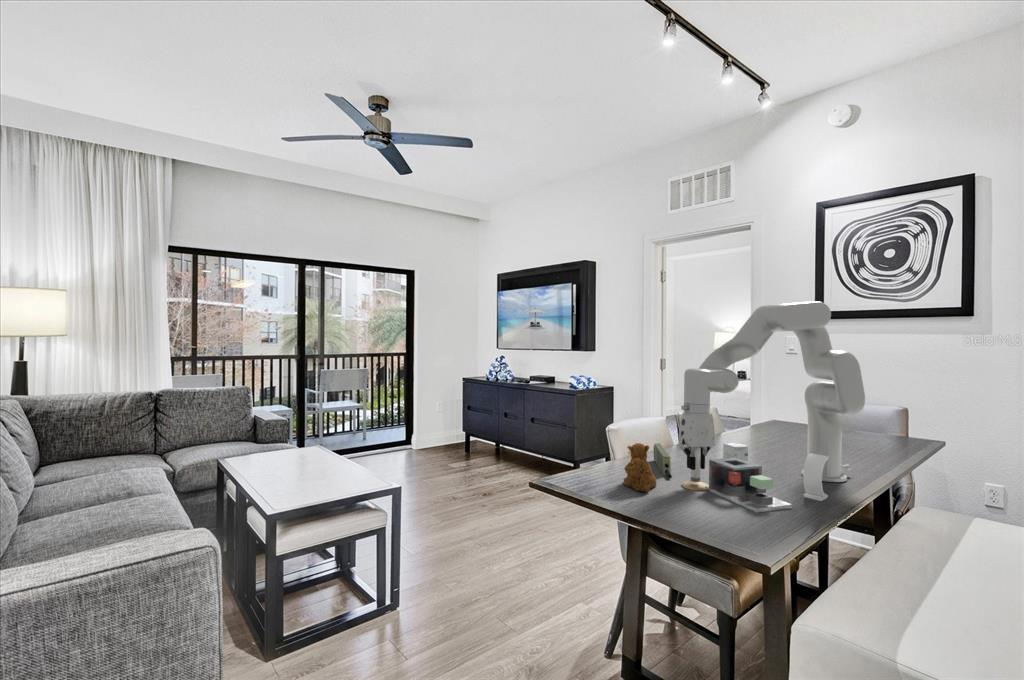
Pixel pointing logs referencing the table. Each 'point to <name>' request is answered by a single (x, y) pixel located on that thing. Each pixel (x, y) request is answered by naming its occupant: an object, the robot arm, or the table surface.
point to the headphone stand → (814, 476)
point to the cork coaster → (695, 485)
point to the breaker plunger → (734, 478)
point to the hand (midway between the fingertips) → (695, 467)
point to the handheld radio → (662, 459)
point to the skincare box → (735, 451)
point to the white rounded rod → (696, 465)
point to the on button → (761, 483)
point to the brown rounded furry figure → (639, 469)
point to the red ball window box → (741, 485)
